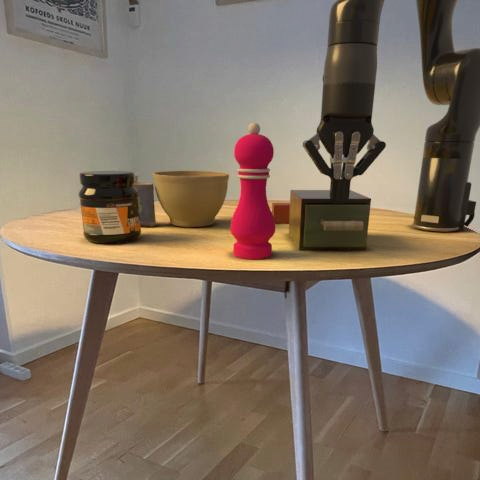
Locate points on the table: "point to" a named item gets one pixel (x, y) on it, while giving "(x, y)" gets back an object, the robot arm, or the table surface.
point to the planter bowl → (191, 195)
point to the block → (281, 212)
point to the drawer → (336, 225)
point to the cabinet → (315, 197)
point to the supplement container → (109, 206)
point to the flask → (146, 203)
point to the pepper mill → (253, 197)
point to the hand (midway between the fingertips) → (338, 203)
